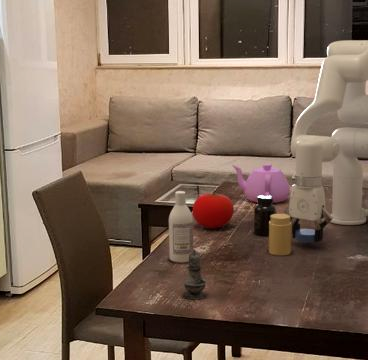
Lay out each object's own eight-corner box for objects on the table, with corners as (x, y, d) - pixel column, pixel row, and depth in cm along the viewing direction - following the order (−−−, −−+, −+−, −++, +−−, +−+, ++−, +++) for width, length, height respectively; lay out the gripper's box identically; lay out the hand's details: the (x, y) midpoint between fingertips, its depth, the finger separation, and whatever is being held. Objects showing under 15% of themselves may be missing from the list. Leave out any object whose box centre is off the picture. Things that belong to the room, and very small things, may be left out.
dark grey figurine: (181, 291, 189) (180, 246, 187) (204, 290, 189) (203, 245, 187) (185, 300, 183) (184, 253, 181) (208, 298, 184) (208, 252, 181)
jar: (289, 248, 222) (289, 213, 220) (292, 255, 216) (293, 218, 213) (267, 249, 222) (267, 213, 220) (270, 255, 216) (270, 219, 214)
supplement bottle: (275, 236, 235) (275, 199, 232) (253, 236, 236) (253, 199, 234) (275, 230, 241) (276, 194, 239) (254, 230, 243) (254, 194, 240)
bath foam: (198, 260, 213) (197, 192, 209) (177, 264, 210) (175, 195, 206) (185, 254, 219) (184, 188, 215) (165, 258, 216) (163, 191, 212)
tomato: (191, 222, 255) (191, 188, 253) (231, 221, 254) (231, 187, 252) (193, 232, 242) (193, 197, 240) (235, 231, 242) (235, 196, 239)
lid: (294, 241, 221) (295, 234, 221) (295, 235, 228) (295, 228, 227) (318, 242, 220) (319, 235, 219) (318, 236, 226) (318, 229, 226)
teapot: (231, 193, 295) (231, 159, 293) (287, 193, 292) (288, 158, 290) (231, 206, 274) (231, 170, 271) (291, 206, 271) (292, 169, 268)
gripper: (276, 180, 223) (275, 237, 227) (328, 187, 212) (327, 247, 215) (289, 176, 229) (288, 231, 232) (341, 182, 217) (339, 241, 220)
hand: (307, 238), depth 224 cm, fingers closed on lid, 6 cm apart
